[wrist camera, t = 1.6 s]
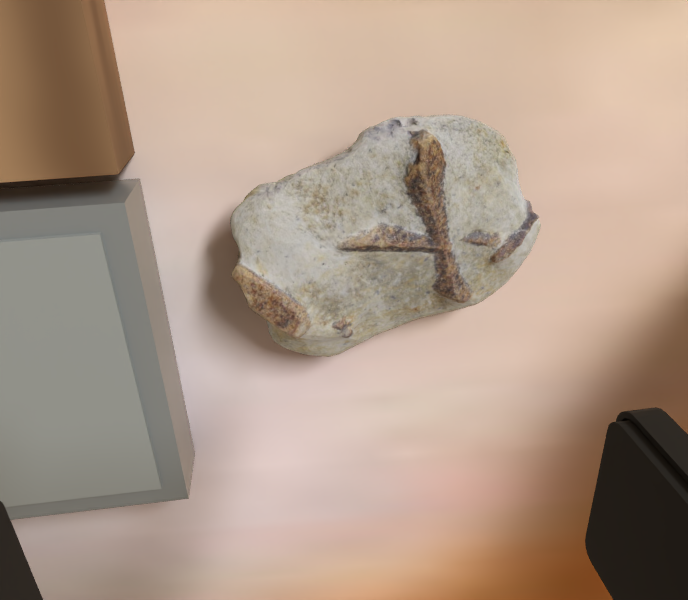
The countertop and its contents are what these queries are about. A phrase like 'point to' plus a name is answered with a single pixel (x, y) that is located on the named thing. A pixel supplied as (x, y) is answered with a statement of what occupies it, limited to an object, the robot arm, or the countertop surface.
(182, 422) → the slate stand
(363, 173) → the stone
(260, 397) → the countertop surface
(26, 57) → the walnut stand
